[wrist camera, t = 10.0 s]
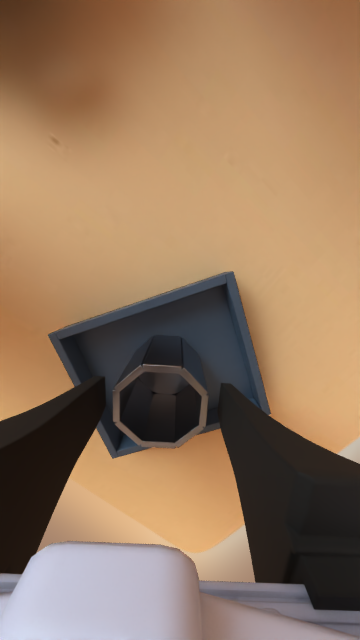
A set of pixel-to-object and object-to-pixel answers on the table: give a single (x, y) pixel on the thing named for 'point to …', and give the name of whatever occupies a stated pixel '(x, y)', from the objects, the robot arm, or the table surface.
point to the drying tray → (168, 320)
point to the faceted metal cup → (161, 394)
